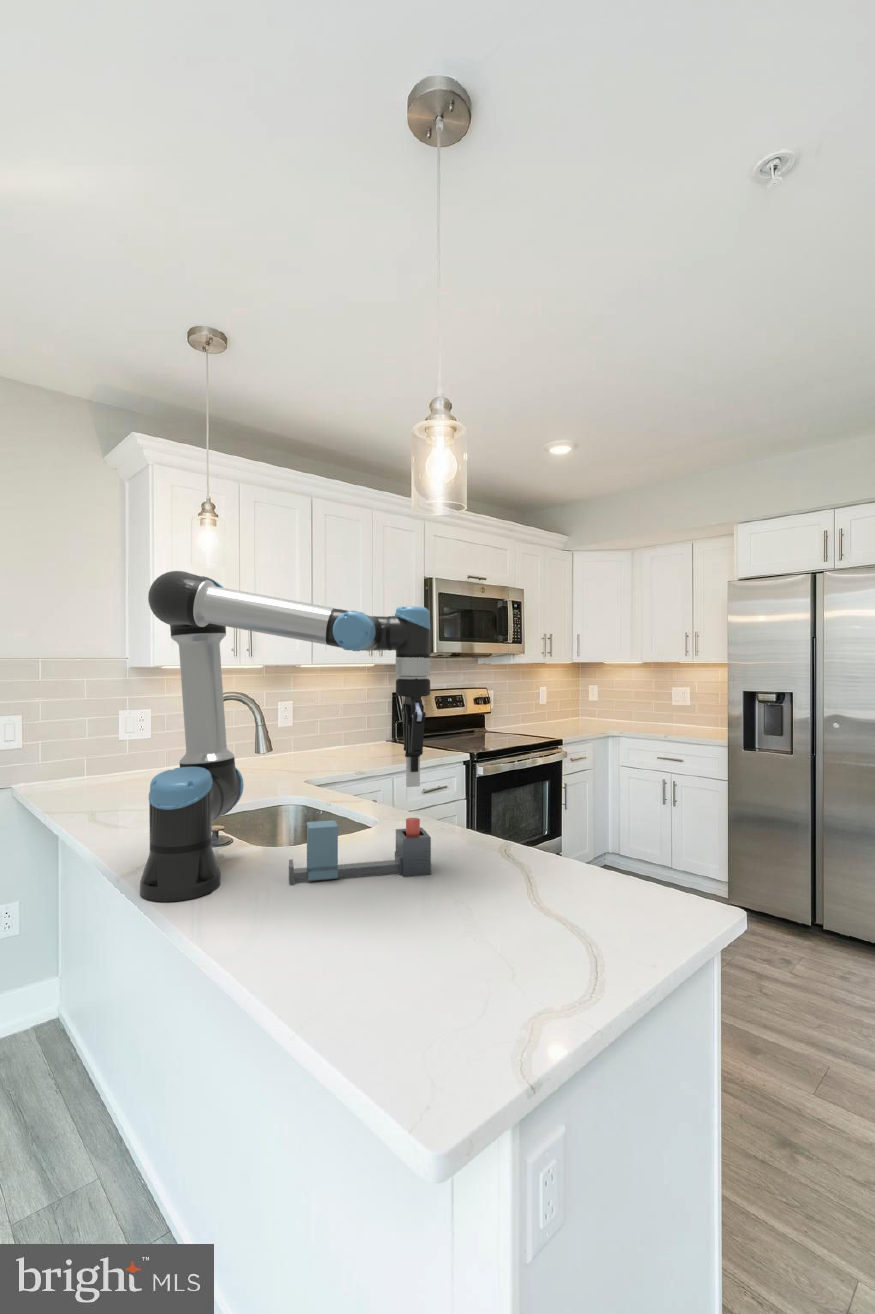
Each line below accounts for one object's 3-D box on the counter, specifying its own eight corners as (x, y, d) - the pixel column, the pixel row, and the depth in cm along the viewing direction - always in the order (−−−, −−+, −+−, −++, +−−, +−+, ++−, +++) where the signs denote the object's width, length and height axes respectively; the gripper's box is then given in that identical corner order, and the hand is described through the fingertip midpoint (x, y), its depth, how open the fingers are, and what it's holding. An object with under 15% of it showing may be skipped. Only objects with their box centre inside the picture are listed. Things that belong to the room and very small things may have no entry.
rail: (289, 885, 131) (289, 867, 131) (288, 876, 135) (288, 859, 135) (403, 874, 137) (403, 857, 137) (398, 867, 142) (398, 850, 142)
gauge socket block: (403, 877, 135) (403, 839, 135) (395, 865, 143) (395, 829, 143) (430, 874, 137) (430, 837, 137) (421, 862, 145) (421, 827, 145)
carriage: (308, 880, 132) (308, 828, 132) (306, 872, 136) (306, 822, 136) (337, 878, 133) (337, 826, 133) (335, 870, 138) (335, 820, 138)
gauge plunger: (407, 849, 138) (407, 821, 138) (404, 845, 141) (404, 818, 141) (421, 848, 139) (421, 820, 139) (417, 844, 142) (417, 817, 142)
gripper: (437, 678, 134) (437, 791, 135) (422, 676, 147) (422, 779, 147) (402, 679, 132) (402, 793, 133) (390, 676, 145) (390, 781, 145)
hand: (413, 785), depth 140 cm, fingers closed
